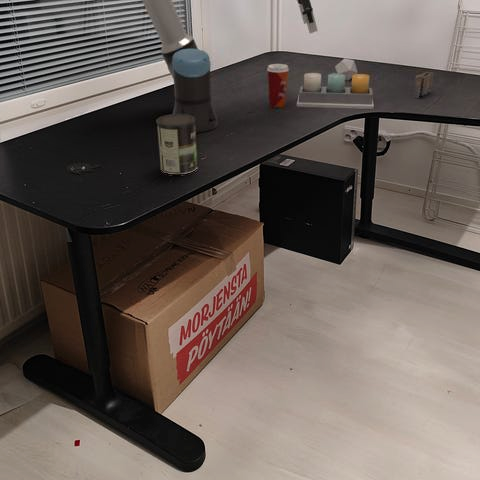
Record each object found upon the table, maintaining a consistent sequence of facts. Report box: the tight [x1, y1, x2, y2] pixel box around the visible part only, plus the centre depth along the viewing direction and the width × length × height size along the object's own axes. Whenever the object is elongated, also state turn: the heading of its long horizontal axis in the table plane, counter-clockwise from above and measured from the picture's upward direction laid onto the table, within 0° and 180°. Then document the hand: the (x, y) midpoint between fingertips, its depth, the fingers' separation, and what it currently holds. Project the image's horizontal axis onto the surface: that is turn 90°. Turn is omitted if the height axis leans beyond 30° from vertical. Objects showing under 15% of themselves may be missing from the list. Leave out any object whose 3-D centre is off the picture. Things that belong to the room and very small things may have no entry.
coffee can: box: [155, 113, 199, 174], centre depth 164 cm, size 10×10×14 cm
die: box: [334, 58, 359, 82], centre depth 247 cm, size 8×9×10 cm
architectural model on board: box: [412, 71, 434, 97], centre depth 225 cm, size 11×3×10 cm, turn 143°
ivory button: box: [303, 72, 322, 92], centre depth 218 cm, size 6×6×6 cm
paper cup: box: [266, 63, 290, 108], centre depth 215 cm, size 8×8×14 cm
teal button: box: [327, 72, 346, 93], centre depth 217 cm, size 6×6×6 cm
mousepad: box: [66, 162, 102, 175], centre depth 168 cm, size 9×8×1 cm
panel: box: [296, 85, 375, 110], centre depth 219 cm, size 27×13×4 cm, turn 82°
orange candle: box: [351, 73, 370, 94], centre depth 215 cm, size 6×6×6 cm
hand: (310, 27), depth 205 cm, fingers open, 13 cm apart
